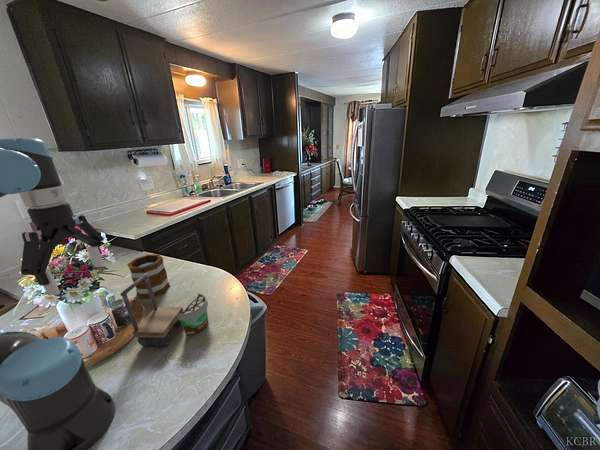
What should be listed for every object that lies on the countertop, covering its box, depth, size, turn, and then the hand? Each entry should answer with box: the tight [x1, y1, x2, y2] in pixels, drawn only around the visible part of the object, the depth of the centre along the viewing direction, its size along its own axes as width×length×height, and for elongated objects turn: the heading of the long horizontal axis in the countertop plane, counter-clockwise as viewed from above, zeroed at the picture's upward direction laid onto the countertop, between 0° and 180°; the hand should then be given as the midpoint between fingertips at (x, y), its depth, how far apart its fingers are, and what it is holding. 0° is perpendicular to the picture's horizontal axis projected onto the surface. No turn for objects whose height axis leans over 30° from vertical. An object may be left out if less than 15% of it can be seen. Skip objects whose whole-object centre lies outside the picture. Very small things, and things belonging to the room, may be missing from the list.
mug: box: [127, 252, 171, 300], centre depth 110 cm, size 20×14×15 cm
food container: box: [178, 293, 209, 337], centre depth 86 cm, size 12×6×10 cm, turn 169°
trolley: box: [119, 273, 184, 349], centre depth 81 cm, size 12×10×22 cm
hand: (79, 278), depth 67 cm, fingers open, 13 cm apart
